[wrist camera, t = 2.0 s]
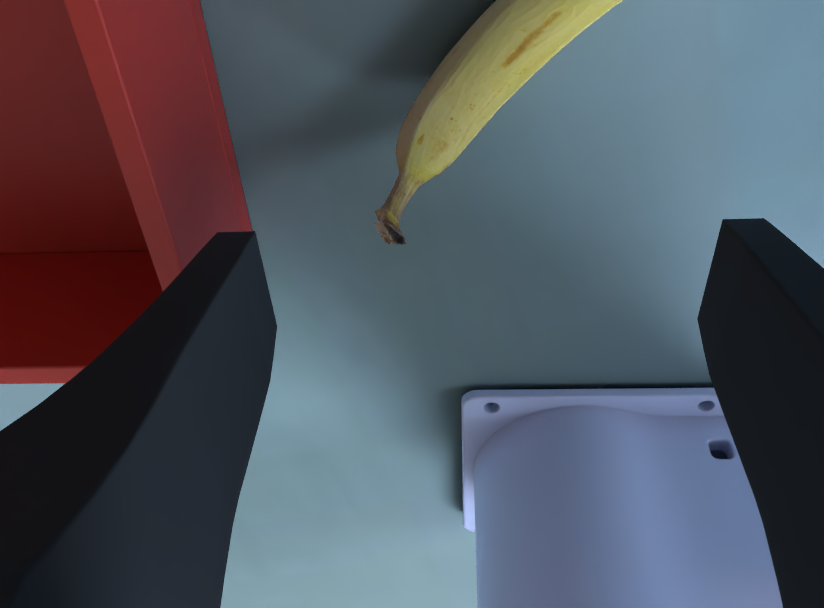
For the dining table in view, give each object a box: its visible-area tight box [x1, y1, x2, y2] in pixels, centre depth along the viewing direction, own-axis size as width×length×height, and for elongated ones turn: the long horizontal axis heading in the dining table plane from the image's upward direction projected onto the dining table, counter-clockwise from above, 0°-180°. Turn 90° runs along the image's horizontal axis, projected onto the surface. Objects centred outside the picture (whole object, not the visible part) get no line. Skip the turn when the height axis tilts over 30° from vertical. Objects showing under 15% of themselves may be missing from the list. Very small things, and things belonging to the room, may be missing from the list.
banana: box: [374, 0, 623, 244], centre depth 17 cm, size 8×2×4 cm, turn 140°
